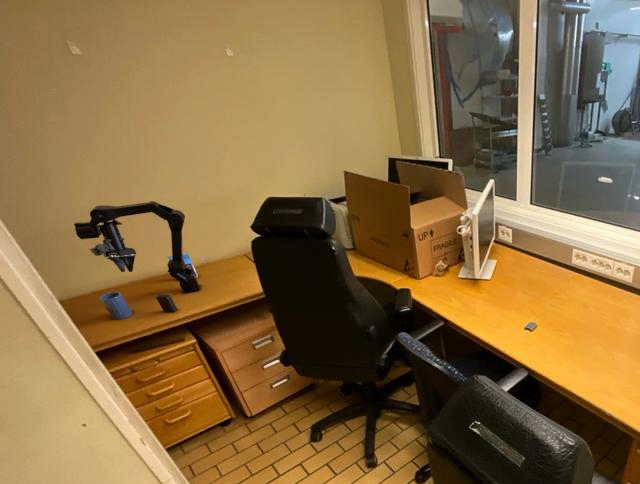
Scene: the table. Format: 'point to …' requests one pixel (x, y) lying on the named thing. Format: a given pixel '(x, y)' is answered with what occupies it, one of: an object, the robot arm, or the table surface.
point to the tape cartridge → (188, 264)
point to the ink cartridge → (166, 303)
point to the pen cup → (116, 305)
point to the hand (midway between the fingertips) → (127, 271)
